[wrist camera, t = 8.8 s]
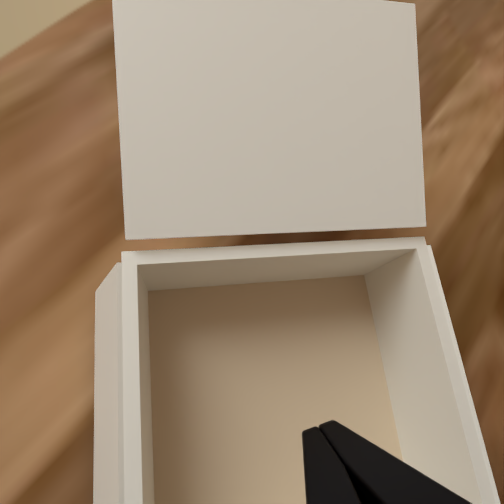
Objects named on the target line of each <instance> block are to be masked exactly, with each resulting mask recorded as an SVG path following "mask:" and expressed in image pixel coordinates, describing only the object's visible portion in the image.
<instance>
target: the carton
mask: <svg viewBox="0 0 504 504" xmlns="http://www.w3.org/2000/svg"><path fill="white" fill-rule="evenodd" d="M330 420H335V421H337V422H339V423H340V424H342V425H344V426H345V427H347V428H349V429H350V430H352V431H354V432H355V433H357V434H359V435H360V436H362V437H364V438H365V439H367V440H368V441H370V442H372V443H373V444H375V445H377V446H378V447H380V448H382V449H383V450H385V451H387V452H388V453H390V454H392V455H393V456H395V457H396V458H398V459H400V460H401V461H403V462H405V463H406V464H408V465H410V466H411V467H413V468H415V469H416V470H418V471H420V472H421V473H423V474H424V475H426V476H428V477H429V478H431V479H433V480H434V481H436V482H438V483H439V484H441V485H443V486H444V487H446V488H448V489H449V490H451V491H452V492H454V493H456V494H457V495H459V496H461V497H462V498H464V499H466V500H467V501H469V502H471V503H472V504H500V500H499V497H498V493H497V489H496V485H495V482H494V478H493V474H492V471H491V467H490V463H489V460H488V456H487V452H486V448H485V445H484V441H483V437H482V434H481V430H480V426H479V423H478V419H477V415H476V411H475V408H474V404H473V400H472V397H471V393H470V389H469V386H468V382H467V378H466V374H465V371H464V367H463V363H462V360H461V356H460V352H459V349H458V345H457V341H456V337H455V334H454V330H453V326H452V323H451V319H450V315H449V312H448V308H447V304H446V301H445V297H444V293H443V289H442V286H441V282H440V278H439V275H438V271H437V267H436V264H435V260H434V256H433V252H432V249H431V245H426V241H425V238H424V236H423V237H403V238H384V239H364V240H344V241H324V242H304V243H284V244H264V245H245V246H225V247H205V248H185V249H165V250H145V251H125V252H122V263H116V265H115V266H114V267H113V269H112V270H111V271H110V273H109V274H108V275H107V277H106V278H105V279H104V281H103V282H102V283H101V285H100V286H99V287H98V289H97V290H96V291H95V385H94V484H93V504H306V494H305V478H304V462H303V447H302V431H304V430H306V429H309V428H311V427H314V426H317V427H319V425H320V424H322V423H325V422H327V421H330Z"/></svg>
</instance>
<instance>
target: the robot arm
mask: <svg viewBox="0 0 504 504" xmlns="http://www.w3.org/2000/svg"><path fill="white" fill-rule="evenodd" d="M302 447H303V462H304V478H305V494H306V504H472V503H471V502H469V501H467V500H466V499H464V498H462V497H461V496H459V495H457V494H456V493H454V492H452V491H451V490H449V489H448V488H446V487H444V486H443V485H441V484H439V483H438V482H436V481H434V480H433V479H431V478H429V477H428V476H426V475H424V474H423V473H421V472H420V471H418V470H416V469H415V468H413V467H411V466H410V465H408V464H406V463H405V462H403V461H401V460H400V459H398V458H396V457H395V456H393V455H392V454H390V453H388V452H387V451H385V450H383V449H382V448H380V447H378V446H377V445H375V444H373V443H372V442H370V441H368V440H367V439H365V438H364V437H362V436H360V435H359V434H357V433H355V432H354V431H352V430H350V429H349V428H347V427H345V426H344V425H342V424H340V423H339V422H337V421H335V420H330V421H327V422H325V423H322V424H320V425H319V427H317V426H314V427H311V428H309V429H306V430H304V431H302Z"/></svg>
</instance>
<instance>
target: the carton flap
mask: <svg viewBox="0 0 504 504" xmlns="http://www.w3.org/2000/svg"><path fill="white" fill-rule="evenodd" d="M112 5H113V23H114V41H115V59H116V77H117V95H118V113H119V131H120V149H121V167H122V185H123V204H124V222H125V240H139V239H162V238H184V237H207V236H230V235H253V234H275V233H298V232H321V231H344V230H367V229H389V228H412V227H426V213H425V193H424V173H423V153H422V134H421V114H420V94H419V74H418V54H417V34H416V14H415V4H412V3H403V2H393V1H384V0H112Z"/></svg>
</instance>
